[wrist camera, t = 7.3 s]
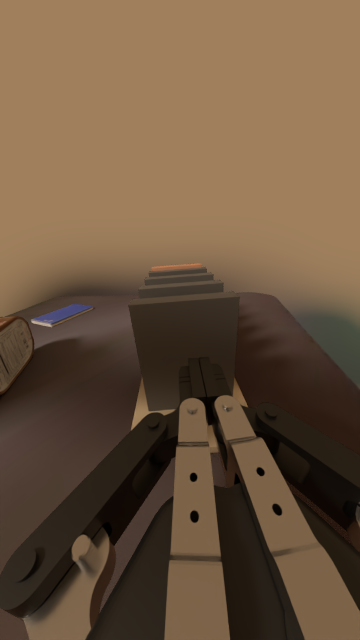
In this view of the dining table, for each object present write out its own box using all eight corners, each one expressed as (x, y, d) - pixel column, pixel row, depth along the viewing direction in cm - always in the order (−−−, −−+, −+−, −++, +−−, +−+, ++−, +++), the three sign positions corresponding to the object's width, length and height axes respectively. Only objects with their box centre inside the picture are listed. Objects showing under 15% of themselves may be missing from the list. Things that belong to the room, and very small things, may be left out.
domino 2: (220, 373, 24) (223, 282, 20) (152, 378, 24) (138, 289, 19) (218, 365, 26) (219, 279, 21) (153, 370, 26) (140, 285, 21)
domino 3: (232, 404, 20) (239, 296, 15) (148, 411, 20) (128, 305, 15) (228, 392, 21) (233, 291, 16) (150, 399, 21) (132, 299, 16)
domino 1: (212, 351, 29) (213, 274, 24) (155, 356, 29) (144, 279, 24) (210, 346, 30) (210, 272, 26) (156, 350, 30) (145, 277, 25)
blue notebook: (50, 323, 44) (92, 305, 54) (30, 319, 47) (73, 303, 57) (52, 329, 45) (93, 310, 55) (32, 324, 48) (74, 308, 58)
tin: (24, 351, 35) (3, 310, 31) (43, 348, 35) (25, 306, 32) (-35, 419, 21) (-81, 359, 18) (-2, 411, 22) (-41, 352, 19)
